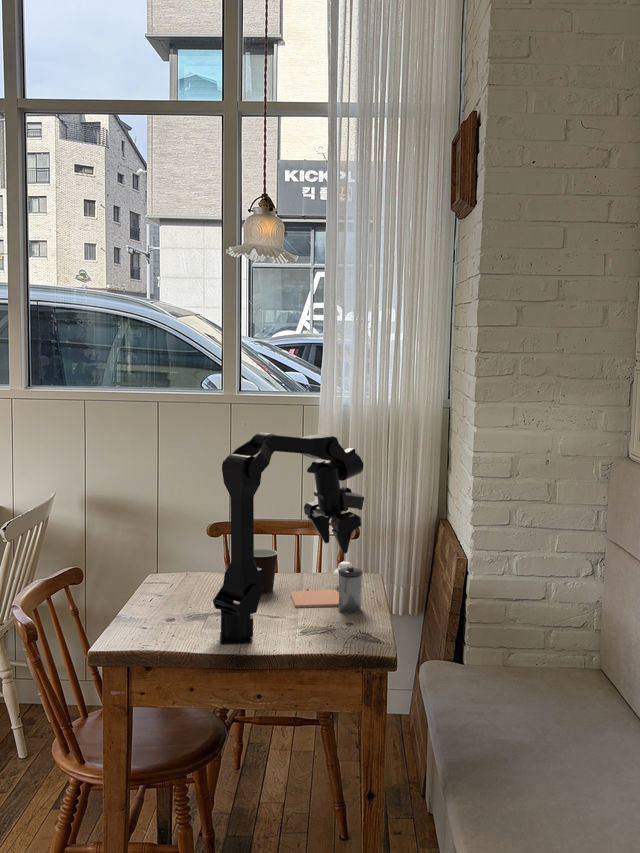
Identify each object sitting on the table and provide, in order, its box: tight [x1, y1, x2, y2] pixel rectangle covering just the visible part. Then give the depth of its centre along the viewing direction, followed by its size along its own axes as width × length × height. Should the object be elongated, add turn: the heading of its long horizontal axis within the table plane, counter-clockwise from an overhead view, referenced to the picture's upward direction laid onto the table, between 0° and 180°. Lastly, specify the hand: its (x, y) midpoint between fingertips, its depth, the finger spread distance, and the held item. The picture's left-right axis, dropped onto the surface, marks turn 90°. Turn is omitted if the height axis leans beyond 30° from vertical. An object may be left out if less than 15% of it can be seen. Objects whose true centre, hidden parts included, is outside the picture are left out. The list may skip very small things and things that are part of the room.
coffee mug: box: [254, 548, 278, 595], centre depth 217 cm, size 12×9×10 cm
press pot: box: [338, 566, 363, 614], centre depth 200 cm, size 6×6×10 cm
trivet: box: [290, 589, 339, 609], centre depth 209 cm, size 12×12×1 cm
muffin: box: [333, 560, 353, 587], centre depth 220 cm, size 6×6×7 cm
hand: (335, 547), depth 201 cm, fingers open, 9 cm apart
